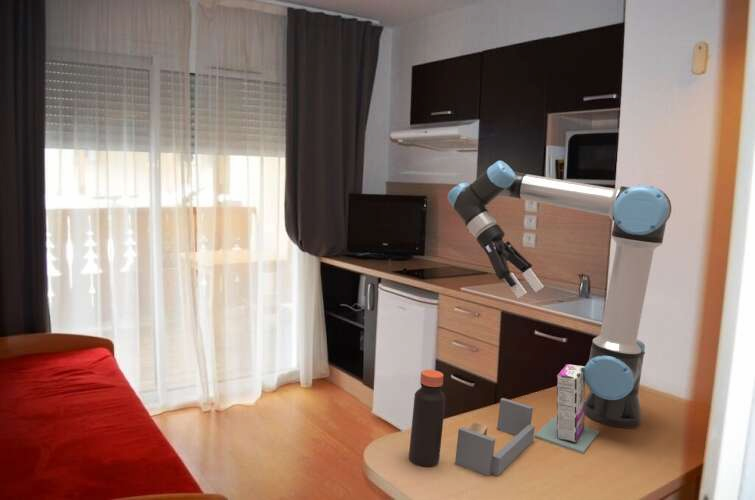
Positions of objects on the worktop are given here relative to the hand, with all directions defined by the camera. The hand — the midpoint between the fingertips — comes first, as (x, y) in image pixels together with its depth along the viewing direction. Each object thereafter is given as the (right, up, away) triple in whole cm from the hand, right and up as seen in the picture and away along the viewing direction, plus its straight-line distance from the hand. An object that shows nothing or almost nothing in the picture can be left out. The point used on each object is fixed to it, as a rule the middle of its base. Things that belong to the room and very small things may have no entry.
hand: (531, 292), depth 153 cm
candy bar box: (+7, -35, -10) cm, 37 cm away
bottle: (-32, -35, -28) cm, 55 cm away
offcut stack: (-19, -35, -21) cm, 46 cm away
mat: (+7, -36, -9) cm, 38 cm away
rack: (-14, -36, -20) cm, 43 cm away
